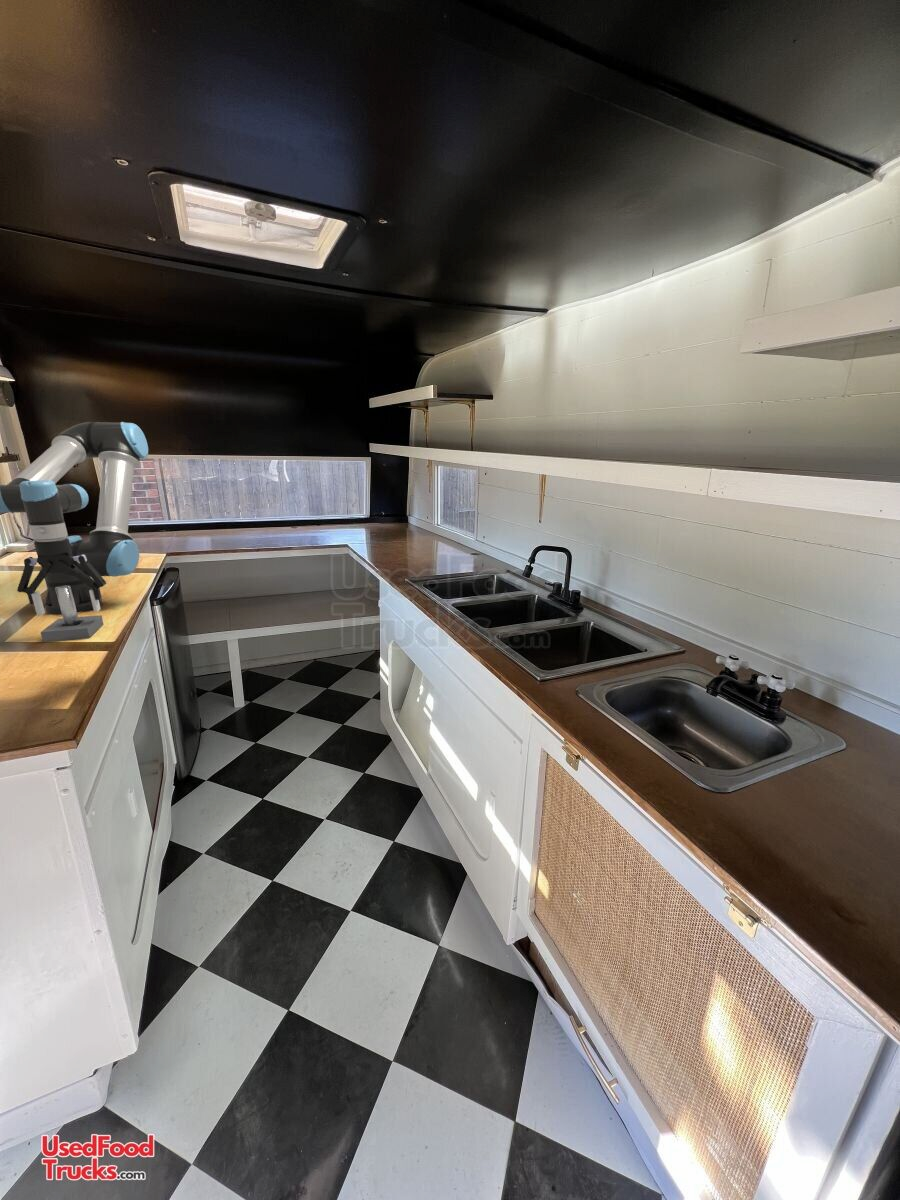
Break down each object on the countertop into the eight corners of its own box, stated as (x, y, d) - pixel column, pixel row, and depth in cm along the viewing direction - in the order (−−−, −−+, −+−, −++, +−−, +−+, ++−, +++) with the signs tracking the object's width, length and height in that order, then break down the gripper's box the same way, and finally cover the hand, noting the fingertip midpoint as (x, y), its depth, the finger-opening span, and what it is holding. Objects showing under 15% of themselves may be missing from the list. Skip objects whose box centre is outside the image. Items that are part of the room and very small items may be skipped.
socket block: (60, 628, 143) (58, 618, 142) (103, 624, 146) (101, 615, 145) (43, 642, 133) (40, 632, 132) (89, 638, 136) (87, 628, 135)
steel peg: (70, 631, 141) (58, 585, 136) (83, 630, 142) (72, 584, 137) (65, 636, 138) (52, 589, 133) (79, 634, 138) (67, 588, 134)
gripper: (-14, 544, 124) (9, 621, 131) (99, 539, 131) (115, 612, 138) (2, 538, 131) (23, 612, 138) (108, 534, 138) (124, 604, 145)
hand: (69, 612), depth 138 cm, fingers open, 13 cm apart
